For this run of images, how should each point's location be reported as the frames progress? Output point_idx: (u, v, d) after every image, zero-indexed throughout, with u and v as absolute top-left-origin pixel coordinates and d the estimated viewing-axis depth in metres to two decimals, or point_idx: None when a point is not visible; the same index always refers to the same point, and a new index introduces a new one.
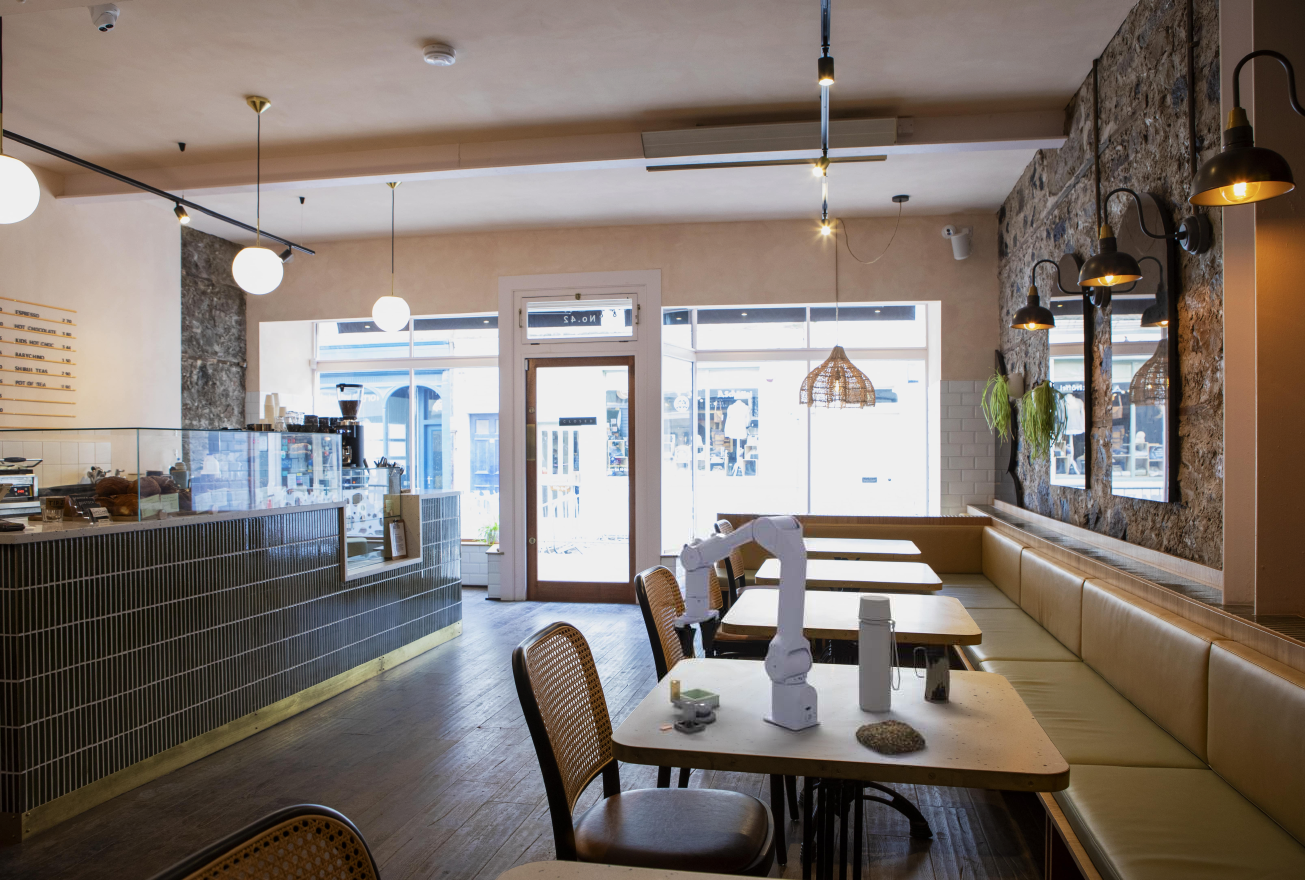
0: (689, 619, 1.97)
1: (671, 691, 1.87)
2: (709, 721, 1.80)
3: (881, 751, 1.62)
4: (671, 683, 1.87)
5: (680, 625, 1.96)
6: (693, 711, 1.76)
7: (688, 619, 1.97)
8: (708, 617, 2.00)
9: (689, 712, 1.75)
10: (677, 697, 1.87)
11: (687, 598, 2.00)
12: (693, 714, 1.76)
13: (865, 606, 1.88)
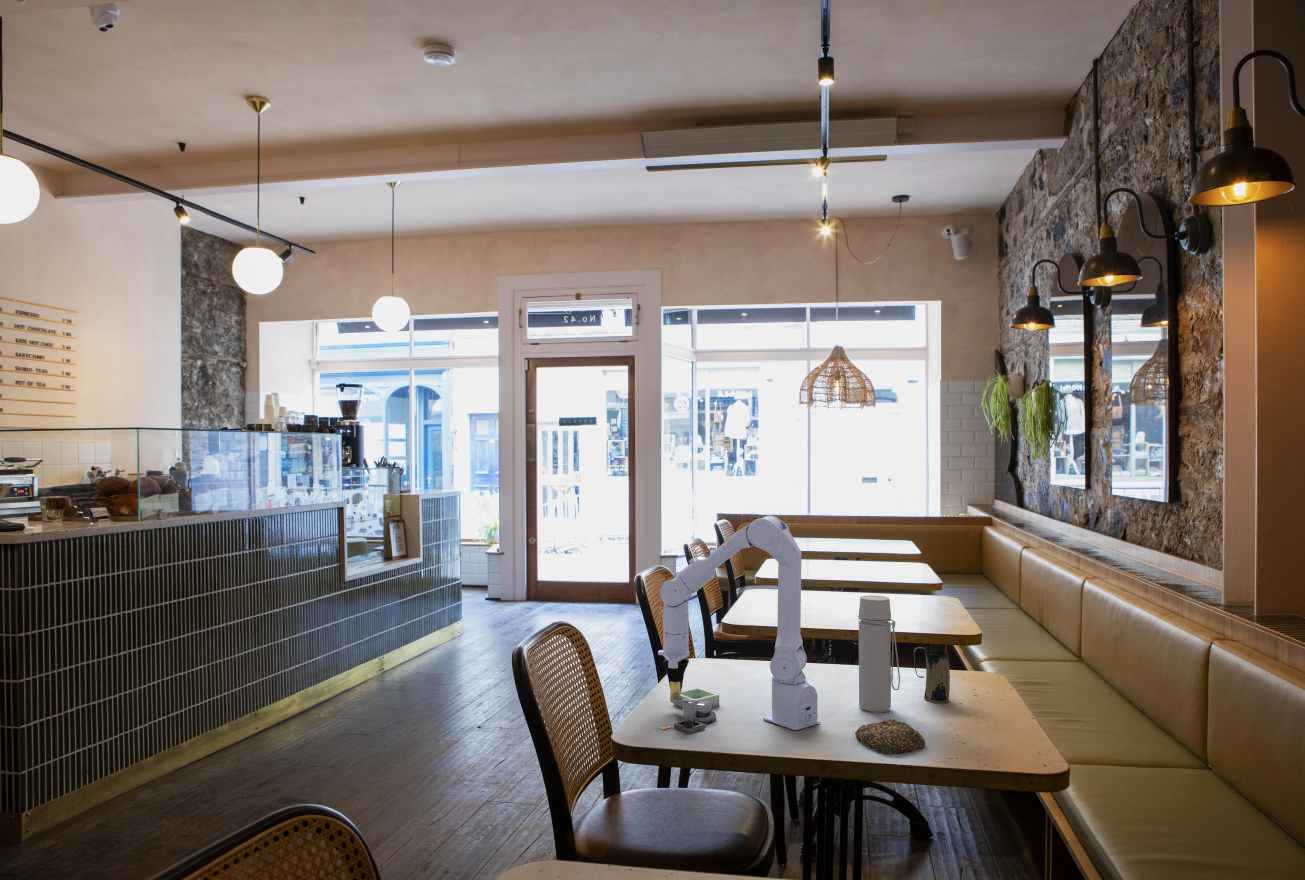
0: (680, 658, 1.85)
1: (671, 691, 1.87)
2: (709, 721, 1.80)
3: (881, 751, 1.62)
4: (671, 683, 1.87)
5: (676, 666, 1.83)
6: (693, 711, 1.76)
7: (680, 658, 1.85)
8: (689, 653, 1.91)
9: (689, 712, 1.75)
10: (677, 697, 1.87)
11: (670, 636, 1.88)
12: (693, 714, 1.76)
13: (865, 606, 1.88)
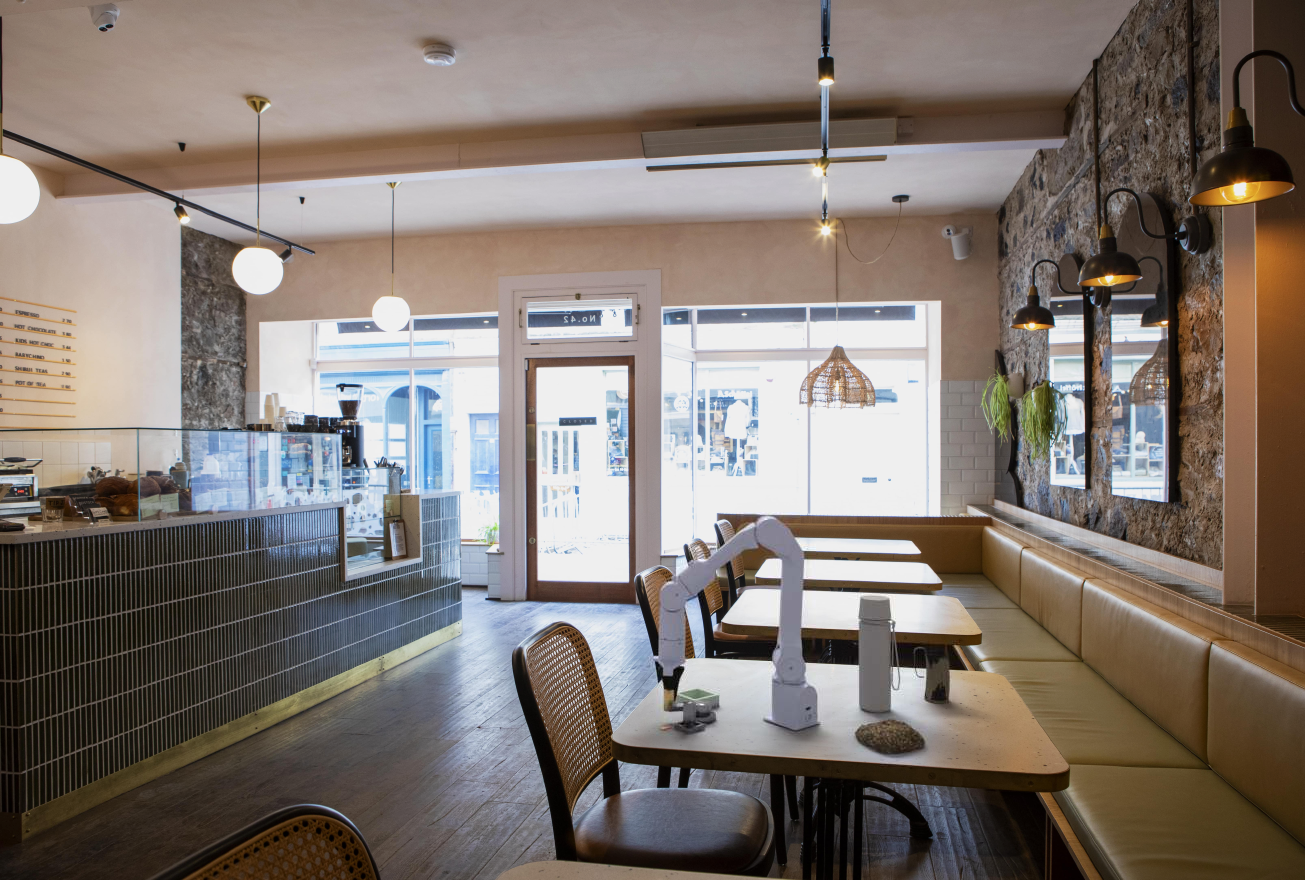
0: (676, 665, 1.78)
1: (669, 700, 1.80)
2: (709, 721, 1.80)
3: (880, 750, 1.62)
4: (669, 692, 1.80)
5: (671, 673, 1.76)
6: (693, 711, 1.76)
7: (675, 665, 1.78)
8: None
9: (689, 712, 1.75)
10: (673, 705, 1.81)
11: (666, 641, 1.81)
12: (693, 714, 1.76)
13: (865, 605, 1.88)
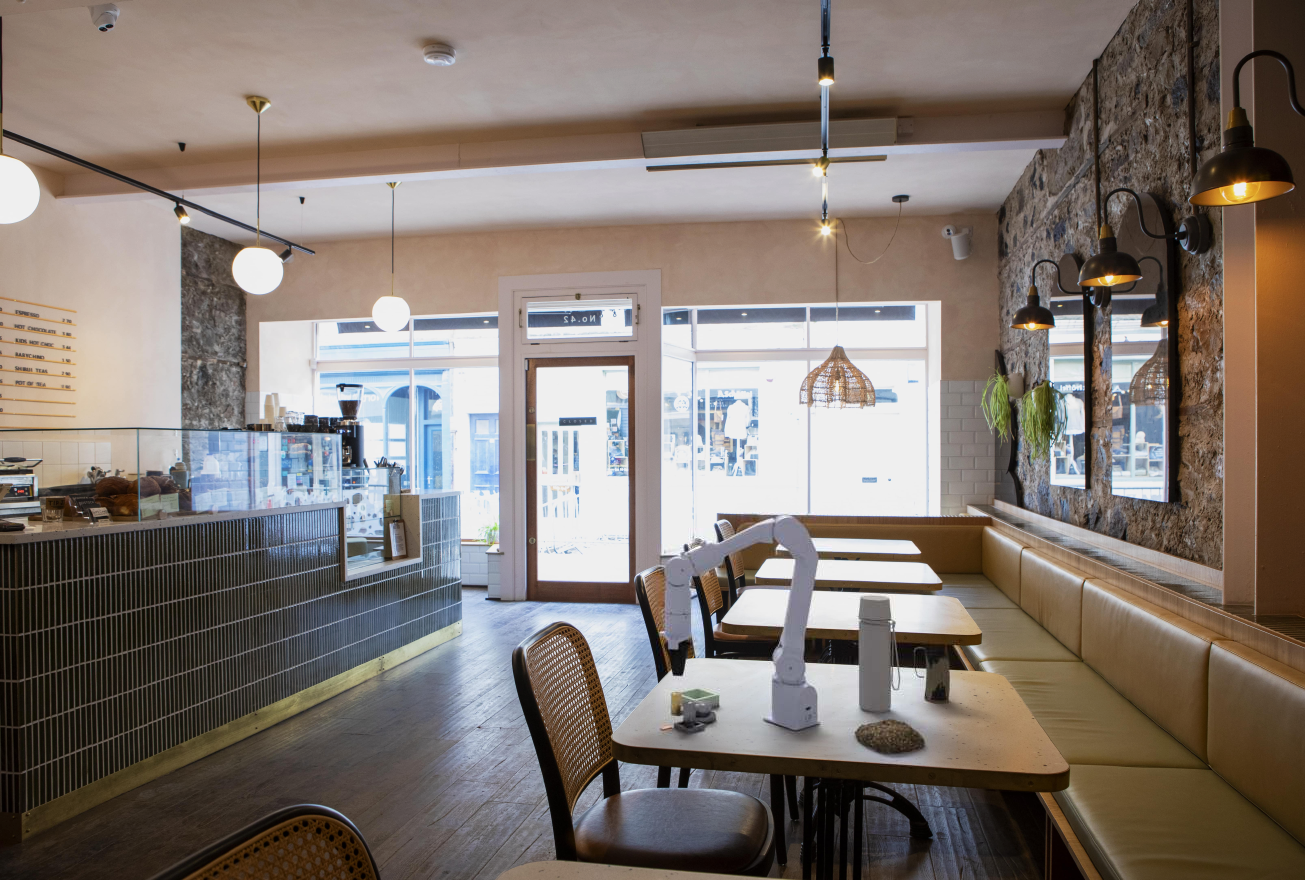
0: (681, 639, 1.78)
1: (678, 704, 1.78)
2: (709, 721, 1.80)
3: (880, 750, 1.62)
4: (678, 696, 1.78)
5: (676, 647, 1.76)
6: (693, 711, 1.76)
7: (680, 639, 1.78)
8: (691, 634, 1.83)
9: (689, 712, 1.75)
10: None
11: (672, 616, 1.81)
12: (693, 714, 1.76)
13: (865, 605, 1.88)
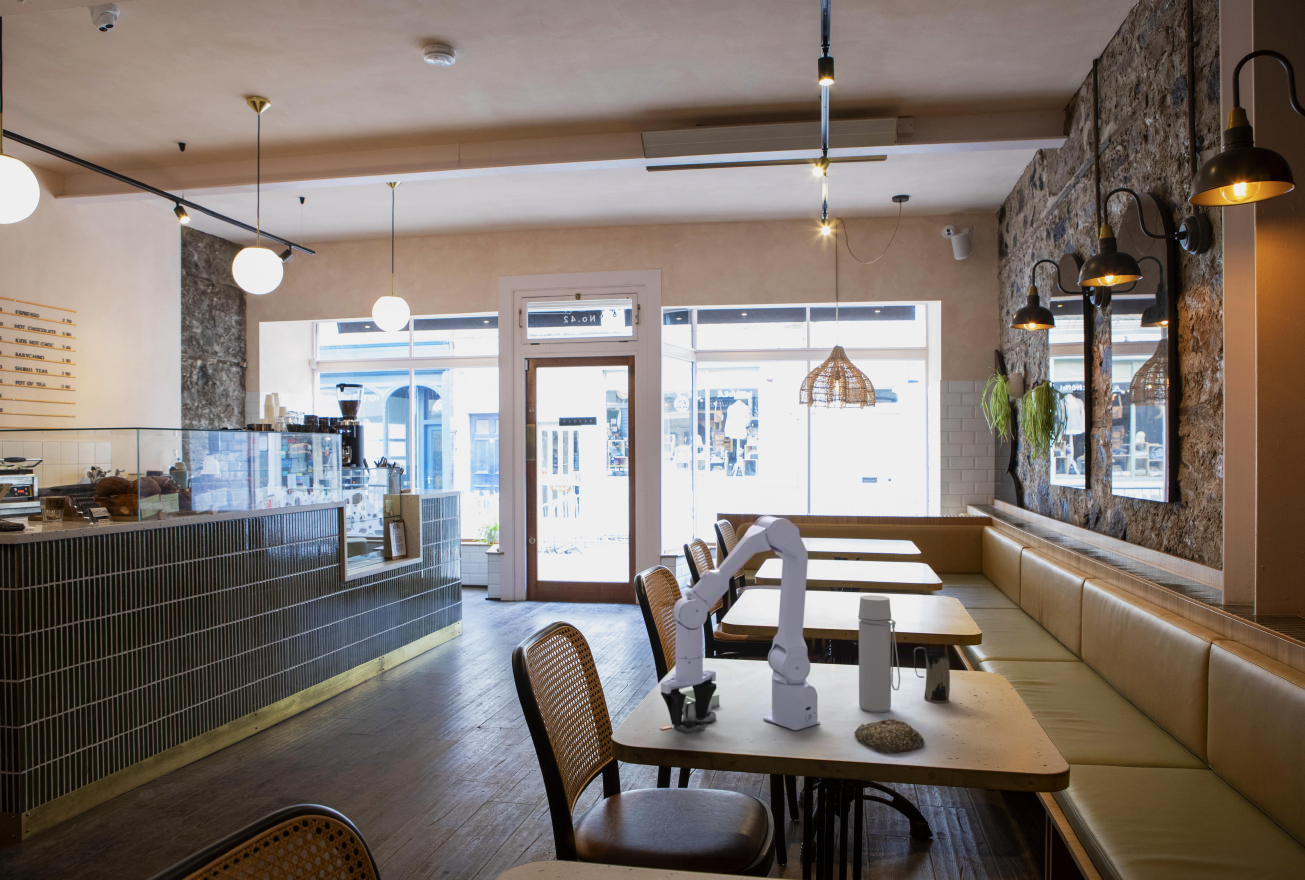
0: (677, 684, 1.72)
1: None
2: (709, 721, 1.80)
3: (880, 750, 1.63)
4: None
5: (666, 691, 1.71)
6: (693, 711, 1.76)
7: (676, 684, 1.72)
8: (700, 681, 1.75)
9: (689, 712, 1.75)
10: None
11: (677, 658, 1.76)
12: (693, 714, 1.76)
13: (865, 606, 1.88)
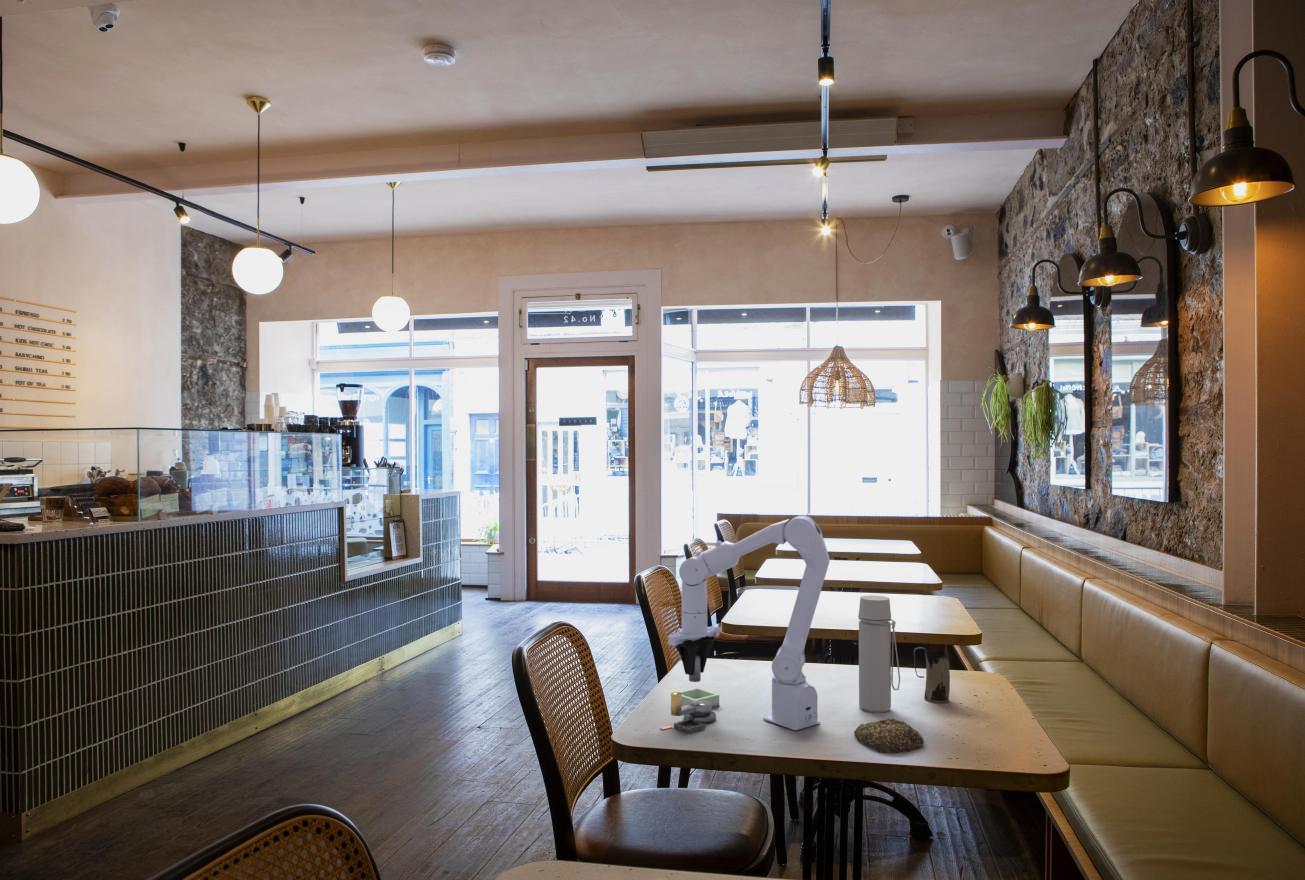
0: (683, 637, 1.83)
1: (678, 704, 1.78)
2: (709, 721, 1.80)
3: (879, 750, 1.63)
4: (678, 696, 1.78)
5: (673, 643, 1.82)
6: (698, 663, 1.86)
7: (682, 637, 1.83)
8: (705, 635, 1.85)
9: None
10: None
11: (683, 614, 1.86)
12: (698, 666, 1.86)
13: (865, 606, 1.88)
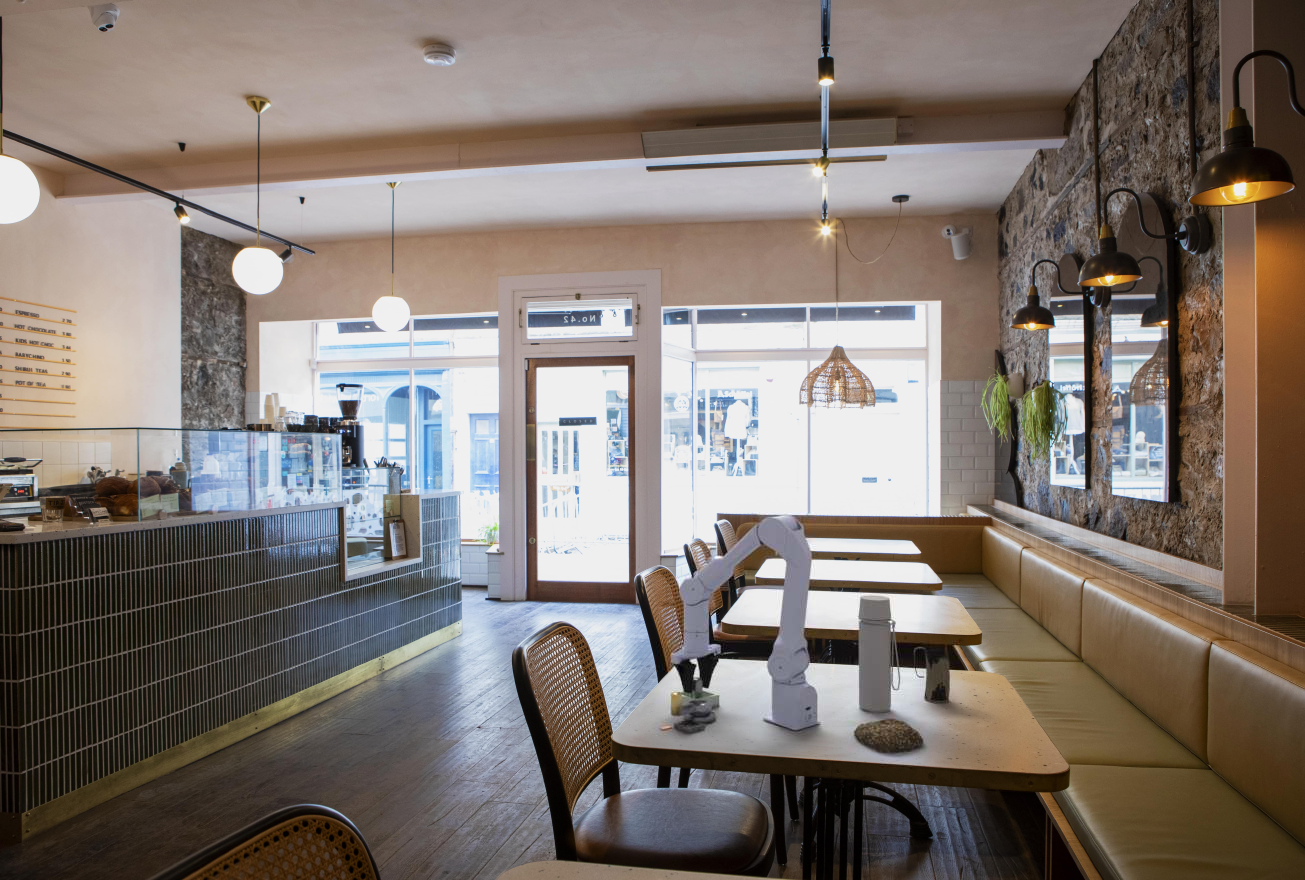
0: (685, 655, 1.89)
1: (678, 704, 1.78)
2: (709, 721, 1.80)
3: (879, 749, 1.63)
4: (678, 696, 1.78)
5: (676, 661, 1.88)
6: (699, 687, 1.92)
7: (684, 655, 1.89)
8: (707, 653, 1.91)
9: (695, 687, 1.92)
10: None
11: (685, 632, 1.92)
12: (699, 689, 1.92)
13: (865, 606, 1.88)
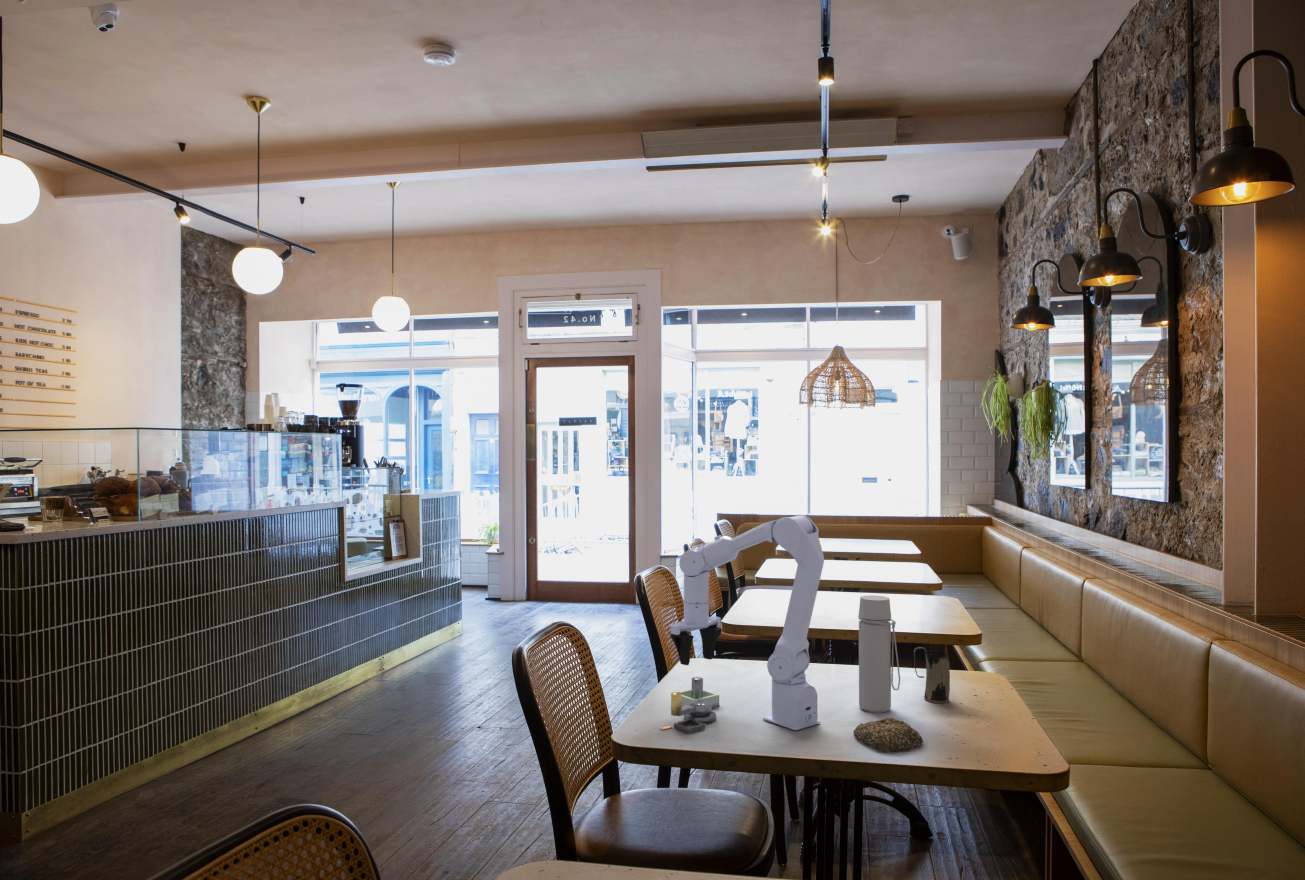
0: (685, 626, 1.89)
1: (678, 704, 1.78)
2: (709, 721, 1.80)
3: (879, 749, 1.63)
4: (678, 696, 1.78)
5: (676, 632, 1.88)
6: (700, 686, 1.92)
7: (684, 626, 1.89)
8: (707, 624, 1.91)
9: (695, 687, 1.92)
10: None
11: (685, 604, 1.92)
12: (700, 689, 1.92)
13: (865, 606, 1.88)
